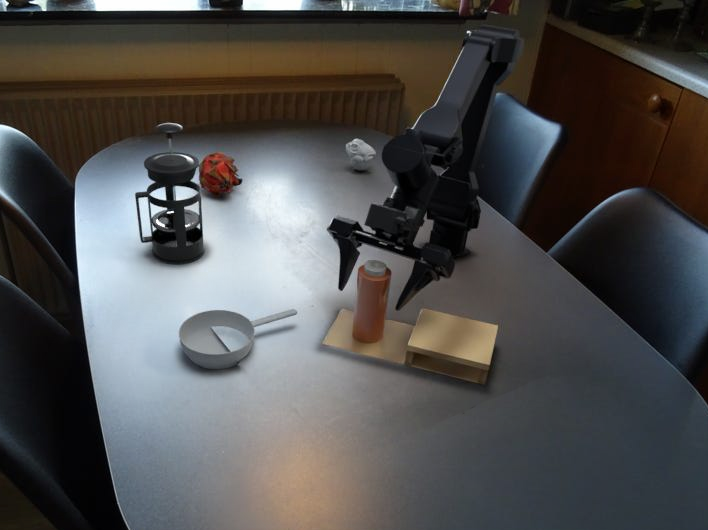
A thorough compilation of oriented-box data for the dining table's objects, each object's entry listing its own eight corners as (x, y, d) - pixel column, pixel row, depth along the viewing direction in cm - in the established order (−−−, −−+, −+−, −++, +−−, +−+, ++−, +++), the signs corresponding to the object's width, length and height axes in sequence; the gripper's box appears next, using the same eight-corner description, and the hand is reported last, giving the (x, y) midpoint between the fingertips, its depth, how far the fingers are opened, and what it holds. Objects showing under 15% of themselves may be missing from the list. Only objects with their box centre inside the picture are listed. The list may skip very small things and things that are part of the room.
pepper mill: (371, 321, 105) (379, 251, 98) (389, 337, 102) (399, 266, 94) (345, 329, 103) (352, 258, 95) (363, 347, 99) (372, 274, 92)
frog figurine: (345, 163, 159) (347, 134, 155) (375, 166, 159) (378, 137, 155) (342, 172, 154) (345, 143, 150) (373, 176, 154) (376, 146, 150)
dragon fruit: (214, 184, 149) (229, 215, 141) (183, 167, 143) (196, 198, 136) (237, 154, 146) (253, 184, 138) (206, 136, 140) (221, 165, 133)
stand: (321, 348, 100) (323, 324, 98) (341, 313, 108) (343, 289, 105) (483, 389, 94) (489, 364, 92) (492, 349, 102) (498, 325, 100)
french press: (202, 235, 126) (196, 114, 113) (213, 260, 119) (208, 133, 106) (138, 243, 123) (124, 118, 110) (145, 269, 116) (131, 139, 102)
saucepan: (170, 338, 100) (168, 317, 98) (281, 312, 107) (281, 291, 105) (194, 382, 92) (192, 360, 90) (311, 350, 100) (312, 329, 98)
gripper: (337, 162, 95) (293, 263, 93) (462, 196, 88) (417, 305, 86) (358, 195, 105) (318, 286, 104) (471, 228, 98) (431, 326, 97)
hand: (368, 299), depth 97 cm, fingers open, 9 cm apart
